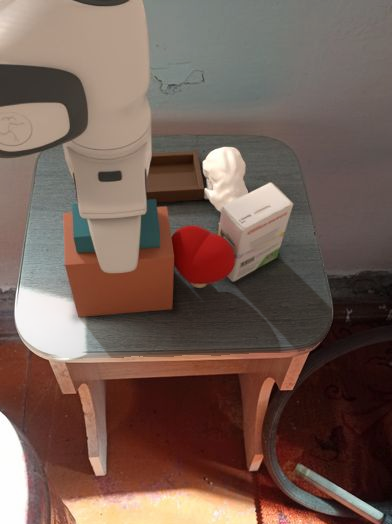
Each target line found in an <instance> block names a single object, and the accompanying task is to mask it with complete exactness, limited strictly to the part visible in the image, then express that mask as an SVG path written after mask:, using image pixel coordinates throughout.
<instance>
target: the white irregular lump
mask: <svg viewBox="0 0 392 524" xmlns="http://www.w3.org/2000/svg"><path fill="white" fill-rule="evenodd" d="M246 168H247V167H246V162H245V161H244V159H243V157H242V154H241V152H240V150H239V149H237V148H236V147H232V146H222V147H218V148H216V149H213V150H211V151H210V152H208V154H207V156H206V157H205V159H204V160H203V161H202V174H203V175H204V177H205V179H206V187H204V198H203V199H204V200H209V202H210V203H211V204H212V205H213V206H214V208H215V209H216V210H217V211H218V212H219V213H221V209H222V206H224V205H226V204H228V203H230V202H232V201H234V200H236V199H238V198H240V197H242V196H244V195H246V194H248V193H249V191H248V188H247V186H246V183H245V180H244V177H245V174H246ZM217 224H218V225H219V224H220V222H217Z"/></svg>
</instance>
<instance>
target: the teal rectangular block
mask: <svg viewBox="0 0 392 524" xmlns="http://www.w3.org/2000/svg"><path fill="white" fill-rule="evenodd" d="M157 207H158V202H157V203H156V199H150V200H147V212H146V214H143V215H141V228H140V243H139V249H143V248H157V247H160V227H159V219H158V211H157ZM71 212H72V216H73V238H74V243H75V247H76V252H77V253H86V252H95V248H94V245H93V241H92V238H91V234H90V230H89V225H88V221H87V218H82V217H81V216H80V213H79V208H78V203H72V204H71Z"/></svg>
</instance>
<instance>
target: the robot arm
mask: <svg viewBox="0 0 392 524" xmlns="http://www.w3.org/2000/svg"><path fill="white" fill-rule="evenodd" d="M150 52H151V51H150V39H149V30H148V22H147V15H146V9H145V5H144V1H143V0H0V159H16V158H17V159H18V158H22V157H26V156H27V157H28V156H31V155H34V154H37V153H41V152H44V151H47V150H50V149H54V148H56V147H58V146H61V145H62V149H63V154H64V159H65V162H66V165H67V168H68V170H69V173H70V175H71V178H72V179H73V184H74V188H75V196H76V202H77V203H76V204H78V208H79V213H80V216H81V217H82V218H87V221H88V225H89V230H90V234H91V238H92V241H93V245H94V248H95V252H96V255H97V258H98V262H99V265H100V267H101V269H102V270H103V271H104V272H106V273H124V272H130V271H133V270H135V269H136V267H137V264H138V256H139V243H140V228H141V215H143V214H146V212H147V191H146V187H147V176H148V171H149V166H150V161H151V157H152V153H153V142H152V141H153V139H152V110H151V106H150V103H149V100H148V96H147V93H148V90H149V87H150V83H151V54H150Z"/></svg>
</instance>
